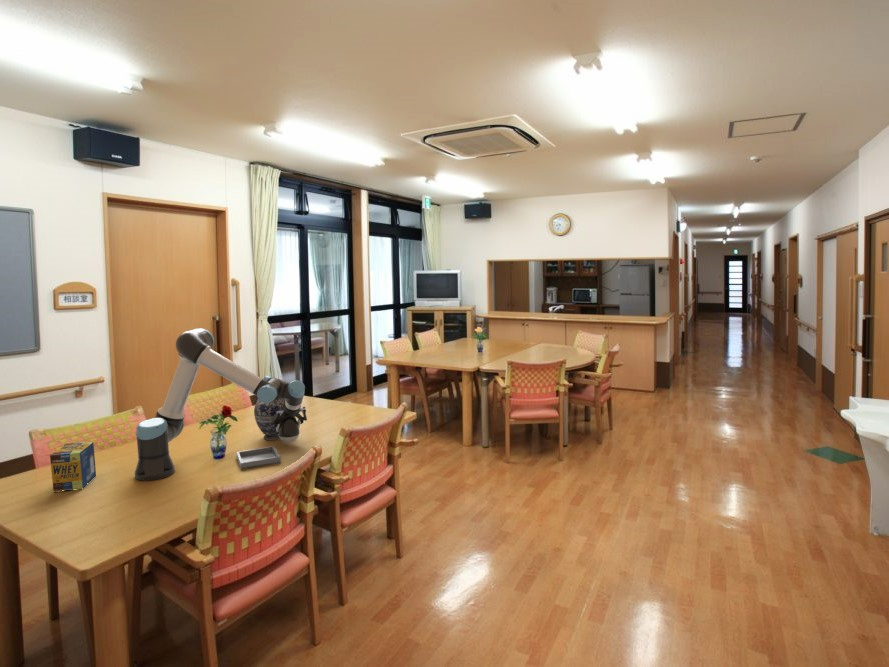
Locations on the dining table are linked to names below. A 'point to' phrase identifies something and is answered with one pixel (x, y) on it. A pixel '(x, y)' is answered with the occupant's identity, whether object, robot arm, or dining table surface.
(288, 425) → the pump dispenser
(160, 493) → the dining table surface
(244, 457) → the tray
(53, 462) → the protein box
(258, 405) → the decorative vase
